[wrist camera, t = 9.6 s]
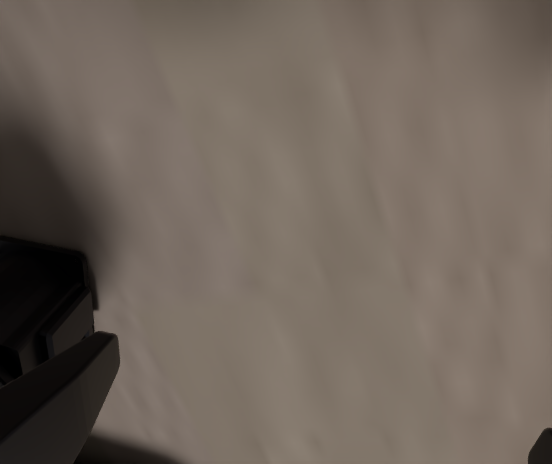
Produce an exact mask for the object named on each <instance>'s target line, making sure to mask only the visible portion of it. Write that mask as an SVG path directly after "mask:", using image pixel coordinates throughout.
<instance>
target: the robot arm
mask: <svg viewBox="0 0 552 464" xmlns="http://www.w3.org/2000/svg"><path fill="white" fill-rule="evenodd" d="M74 259H76V260H77V261H78V262H76V261H75V260H74ZM93 323H94V319H93V307H92V296H91V290H90V288H89V283H88V272H87V261H86V257H85V256H84V255H83V254H82V253H80V252H78V251H73V250H68V249H63V248H58V247H53V246H48V245H43V244H38V243H33V242H28V241H23V240H18V239H13V238H8V237H3V236H0V464H73V463H74V461H75V459H76V458H77V456H78V454H79V452H80V451H81V449H82V447H83V445H84V444H85V442H86V440H87V438H88V436H89V434H90V432H91V430H92V428H93V426H94V423H95V421H96V419H97V417H98V415H99V412H100V410H101V408H102V406H103V403H104V401H105V399H106V397H107V394H108V392H109V390H110V388H111V386H112V383H113V381H114V379H115V377H116V374H117V372H118V369H119V365H120V355H119V342H118V337H117V335H116V334H113V333H108V332H104V331H98V332H95V333H93V328H92V325H93ZM528 464H552V428H546V429H544V430H543V432H542V433H541V435H540V436H539V438H538V439H537V441H536V442H535V444H534V446H533V447H532V449H531V450H530V452H529V456H528Z"/></svg>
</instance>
